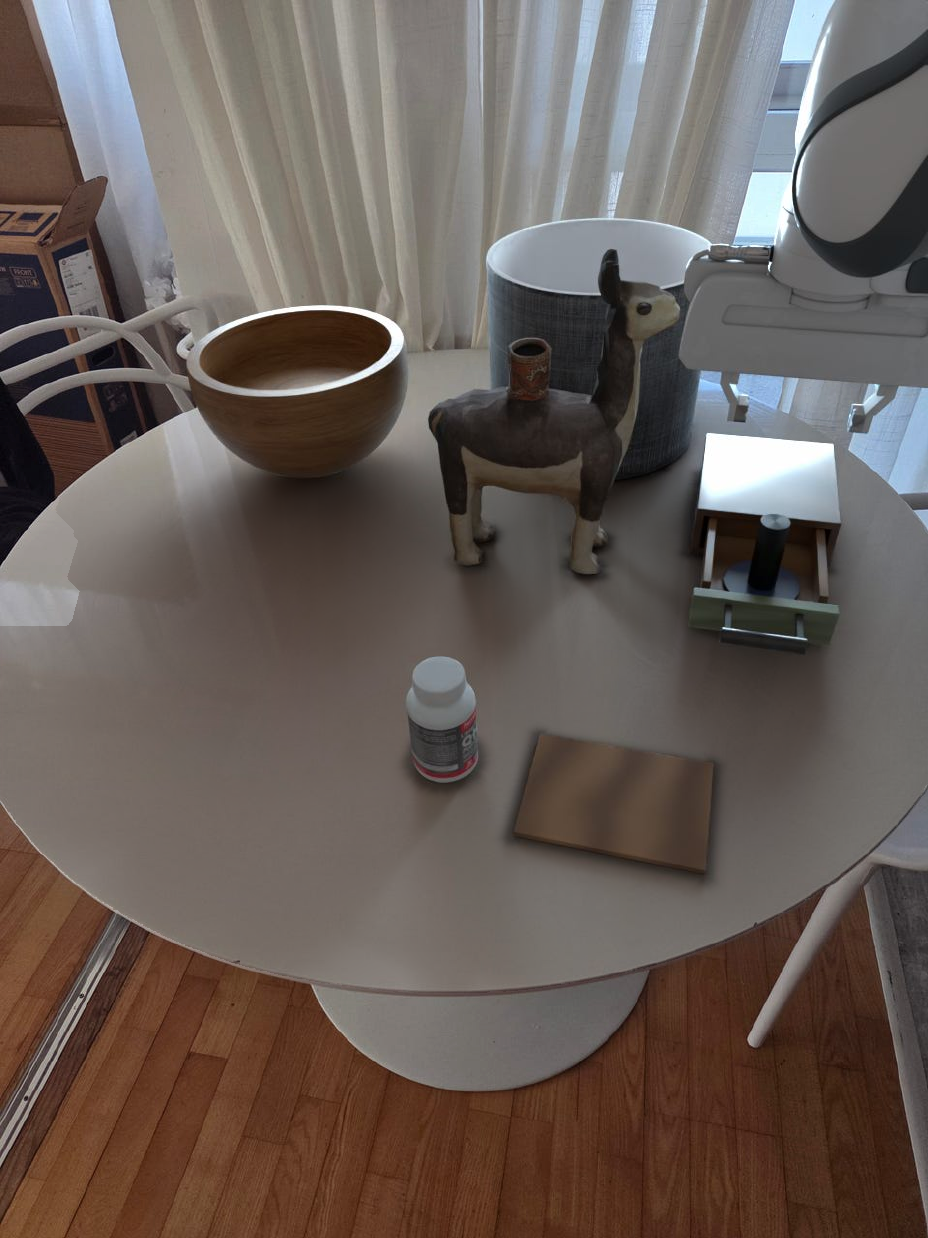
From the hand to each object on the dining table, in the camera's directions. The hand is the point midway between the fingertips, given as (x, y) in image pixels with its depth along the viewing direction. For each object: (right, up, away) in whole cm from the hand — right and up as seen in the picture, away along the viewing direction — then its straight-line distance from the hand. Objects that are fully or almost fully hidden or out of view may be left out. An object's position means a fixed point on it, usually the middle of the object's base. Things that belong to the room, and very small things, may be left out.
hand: (795, 424), depth 70 cm
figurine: (-19, -9, +21) cm, 30 cm away
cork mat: (-15, -30, -4) cm, 34 cm away
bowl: (-46, +3, +37) cm, 59 cm away
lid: (+1, -13, +11) cm, 17 cm away
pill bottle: (-29, -28, 0) cm, 40 cm away
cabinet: (+5, -5, +23) cm, 24 cm away
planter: (-11, +8, +40) cm, 42 cm away
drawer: (+1, -14, +11) cm, 18 cm away
